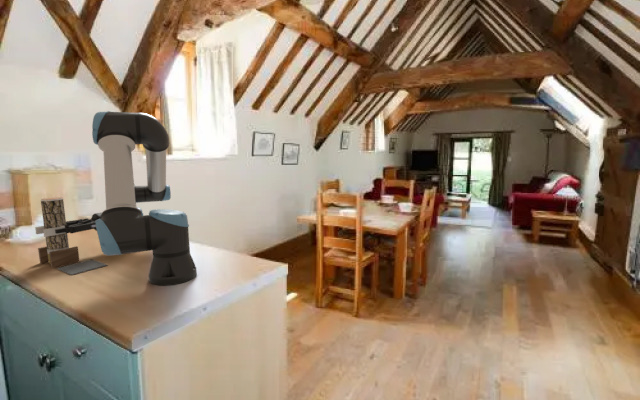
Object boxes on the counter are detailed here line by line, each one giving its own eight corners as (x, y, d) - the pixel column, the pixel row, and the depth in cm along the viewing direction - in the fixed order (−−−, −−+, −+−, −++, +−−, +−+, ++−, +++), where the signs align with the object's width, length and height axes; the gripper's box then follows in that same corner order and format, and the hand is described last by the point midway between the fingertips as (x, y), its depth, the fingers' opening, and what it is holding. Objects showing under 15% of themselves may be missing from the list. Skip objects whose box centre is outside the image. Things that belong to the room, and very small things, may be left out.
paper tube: (59, 265, 133) (50, 199, 129) (44, 264, 134) (35, 199, 130) (74, 259, 139) (67, 197, 136) (60, 258, 141) (52, 197, 137)
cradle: (79, 261, 137) (77, 246, 137) (52, 268, 130) (50, 252, 129) (66, 256, 144) (64, 242, 143) (40, 263, 136) (38, 248, 135)
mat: (107, 265, 133) (107, 264, 133) (71, 275, 123) (71, 274, 123) (92, 260, 139) (91, 259, 139) (56, 269, 129) (56, 268, 129)
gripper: (117, 232, 145) (52, 245, 126) (94, 226, 156) (30, 238, 136) (116, 214, 144) (49, 225, 125) (92, 210, 154) (28, 219, 135)
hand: (40, 231), depth 131 cm, fingers closed on paper tube, 7 cm apart
